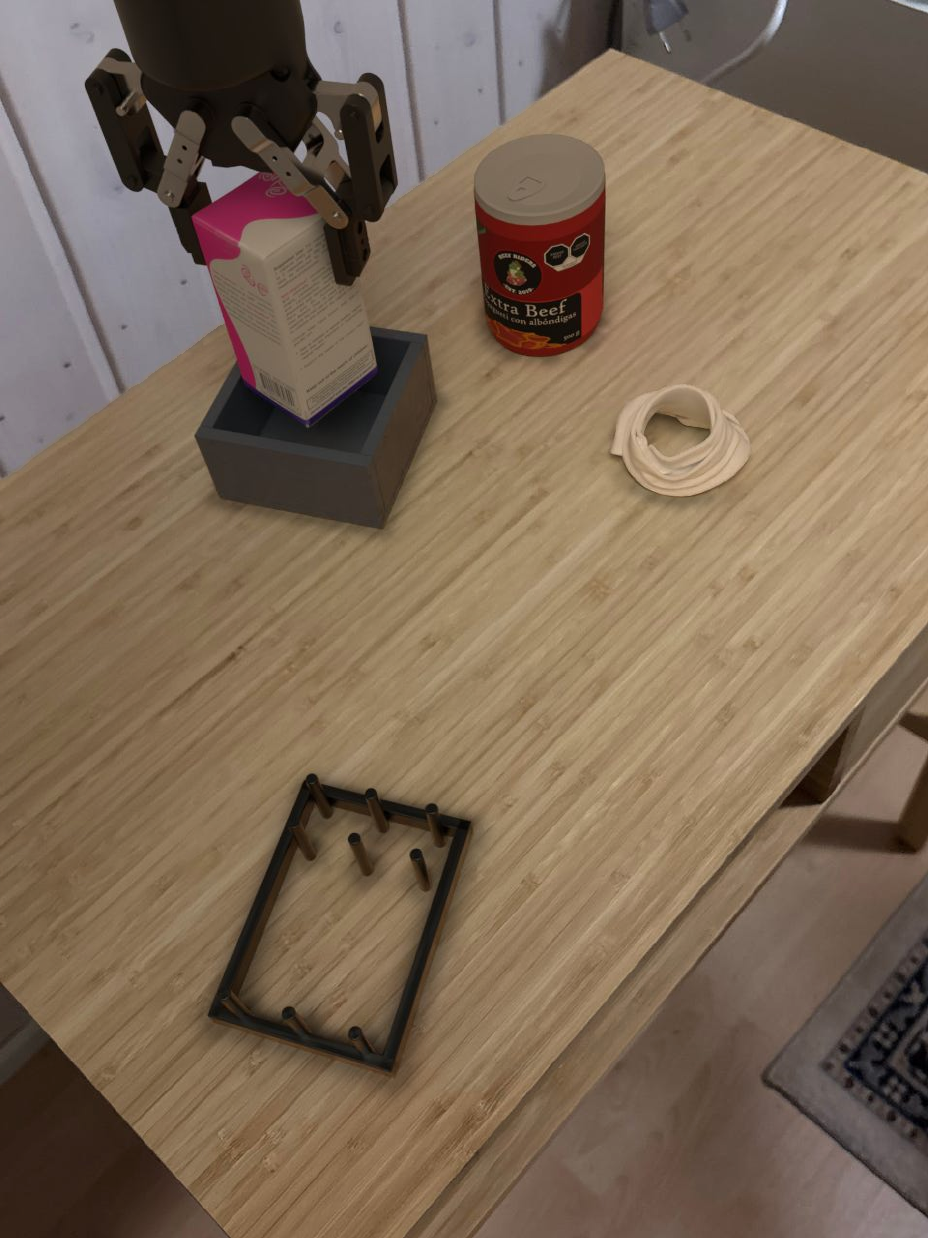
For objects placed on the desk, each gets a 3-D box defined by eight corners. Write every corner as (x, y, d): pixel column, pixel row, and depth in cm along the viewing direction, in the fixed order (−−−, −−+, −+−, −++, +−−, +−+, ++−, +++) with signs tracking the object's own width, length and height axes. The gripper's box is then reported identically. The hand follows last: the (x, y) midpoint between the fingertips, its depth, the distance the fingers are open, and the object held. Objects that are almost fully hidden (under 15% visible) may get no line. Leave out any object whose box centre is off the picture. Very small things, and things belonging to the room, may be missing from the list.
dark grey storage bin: (382, 529, 67) (367, 466, 63) (219, 498, 70) (193, 435, 65) (437, 400, 73) (427, 333, 68) (284, 376, 75) (264, 309, 70)
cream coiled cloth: (753, 439, 70) (771, 377, 66) (733, 516, 66) (751, 455, 62) (624, 409, 71) (635, 347, 67) (598, 484, 67) (607, 422, 63)
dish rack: (394, 1079, 50) (381, 1057, 47) (213, 1022, 52) (188, 998, 49) (473, 830, 56) (466, 796, 53) (308, 789, 58) (291, 753, 55)
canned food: (466, 343, 75) (450, 200, 66) (516, 267, 79) (507, 121, 70) (575, 372, 73) (573, 228, 64) (620, 292, 77) (625, 145, 68)
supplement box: (383, 370, 66) (349, 199, 56) (308, 431, 64) (259, 263, 54) (314, 328, 68) (271, 157, 59) (240, 384, 66) (183, 217, 57)
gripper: (-12, -32, 45) (125, 295, 59) (322, -6, 42) (386, 334, 56) (76, -122, 49) (186, 204, 63) (388, -105, 46) (433, 236, 60)
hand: (279, 264), depth 59 cm, fingers closed on supplement box, 7 cm apart
